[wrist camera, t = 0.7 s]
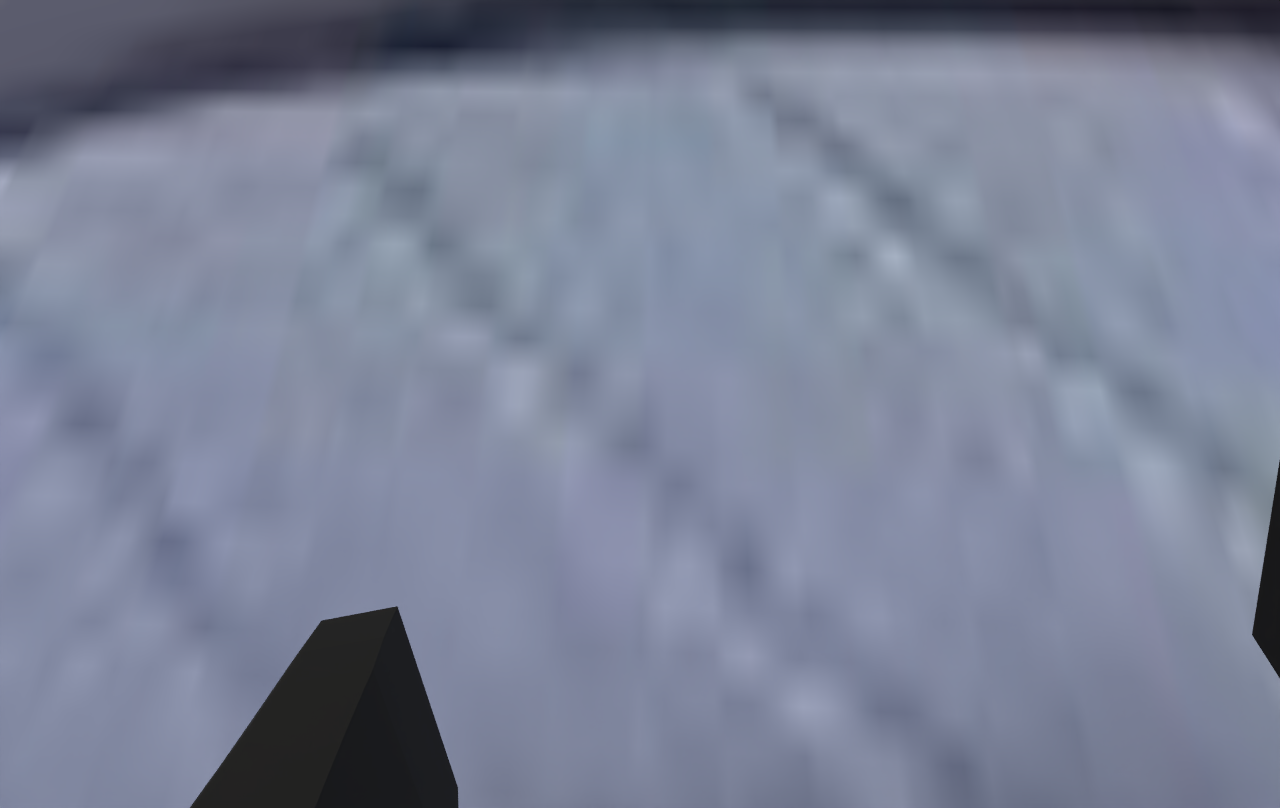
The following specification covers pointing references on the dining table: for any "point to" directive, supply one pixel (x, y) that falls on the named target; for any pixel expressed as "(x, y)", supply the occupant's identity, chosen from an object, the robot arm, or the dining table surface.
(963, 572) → the dining table surface
